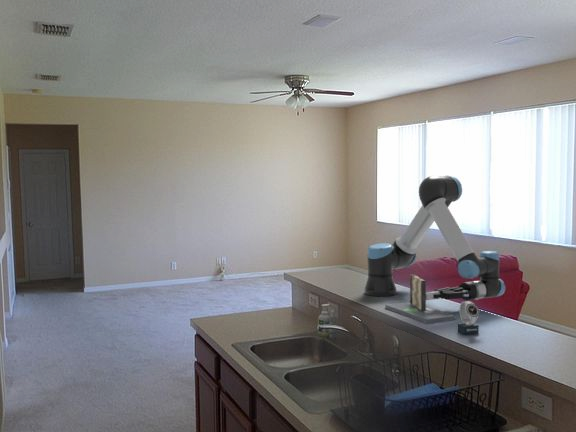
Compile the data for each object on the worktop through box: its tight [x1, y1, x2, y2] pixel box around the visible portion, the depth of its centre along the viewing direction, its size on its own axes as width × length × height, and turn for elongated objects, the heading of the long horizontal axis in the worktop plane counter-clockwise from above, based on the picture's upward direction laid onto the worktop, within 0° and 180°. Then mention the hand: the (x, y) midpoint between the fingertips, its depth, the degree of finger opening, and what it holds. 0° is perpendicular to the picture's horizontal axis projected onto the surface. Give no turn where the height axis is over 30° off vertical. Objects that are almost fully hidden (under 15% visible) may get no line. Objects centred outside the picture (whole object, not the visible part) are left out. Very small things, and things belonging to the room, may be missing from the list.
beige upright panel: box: [409, 274, 427, 311], centre depth 222 cm, size 15×3×12 cm, turn 4°
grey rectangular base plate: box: [385, 301, 456, 324], centre depth 219 cm, size 28×13×2 cm, turn 23°
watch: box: [457, 300, 480, 336], centre depth 190 cm, size 6×8×11 cm
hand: (425, 296), depth 216 cm, fingers closed
